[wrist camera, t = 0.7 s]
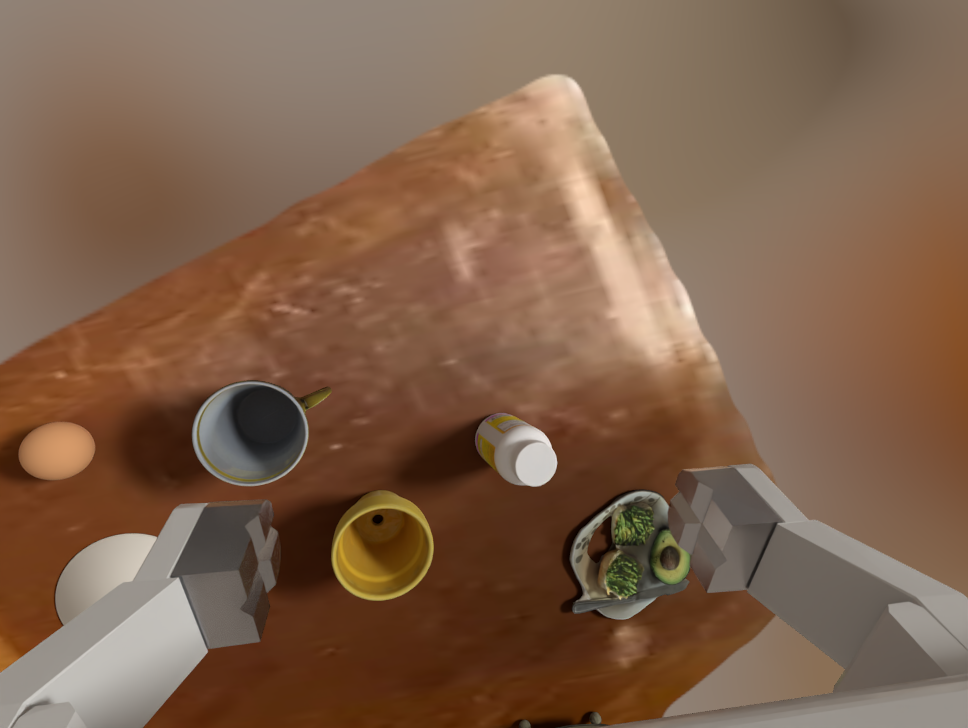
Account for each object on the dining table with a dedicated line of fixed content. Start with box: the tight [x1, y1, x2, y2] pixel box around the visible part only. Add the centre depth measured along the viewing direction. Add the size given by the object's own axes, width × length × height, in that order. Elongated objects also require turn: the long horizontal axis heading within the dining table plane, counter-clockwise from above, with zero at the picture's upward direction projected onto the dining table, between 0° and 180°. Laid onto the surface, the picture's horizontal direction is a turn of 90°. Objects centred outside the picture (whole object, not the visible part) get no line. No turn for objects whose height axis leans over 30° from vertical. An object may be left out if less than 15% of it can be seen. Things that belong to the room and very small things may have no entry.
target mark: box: [55, 533, 157, 625], centre depth 52 cm, size 13×13×1 cm
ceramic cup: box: [192, 380, 332, 486], centre depth 50 cm, size 13×10×10 cm
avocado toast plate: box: [570, 490, 691, 619], centre depth 67 cm, size 19×18×5 cm
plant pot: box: [331, 490, 433, 601], centre depth 54 cm, size 10×10×10 cm
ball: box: [19, 422, 95, 480], centre depth 47 cm, size 6×6×6 cm
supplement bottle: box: [475, 413, 557, 486], centre depth 56 cm, size 7×7×13 cm
